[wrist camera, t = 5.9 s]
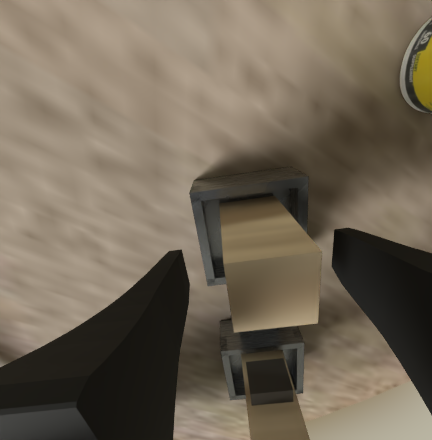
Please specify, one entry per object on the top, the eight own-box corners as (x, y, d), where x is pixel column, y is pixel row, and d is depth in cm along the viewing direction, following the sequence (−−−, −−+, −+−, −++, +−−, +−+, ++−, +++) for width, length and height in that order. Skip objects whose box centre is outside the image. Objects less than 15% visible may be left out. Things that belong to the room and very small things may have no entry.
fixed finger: (281, 369, 19) (309, 471, 13) (243, 372, 19) (255, 475, 13) (280, 332, 17) (311, 431, 12) (238, 336, 17) (250, 437, 12)
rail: (292, 360, 21) (303, 393, 18) (228, 367, 21) (230, 400, 18) (291, 166, 13) (308, 176, 11) (193, 180, 14) (189, 193, 11)
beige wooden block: (219, 203, 13) (223, 263, 7) (274, 195, 13) (322, 251, 7) (228, 266, 15) (237, 353, 9) (277, 260, 14) (316, 345, 9)
